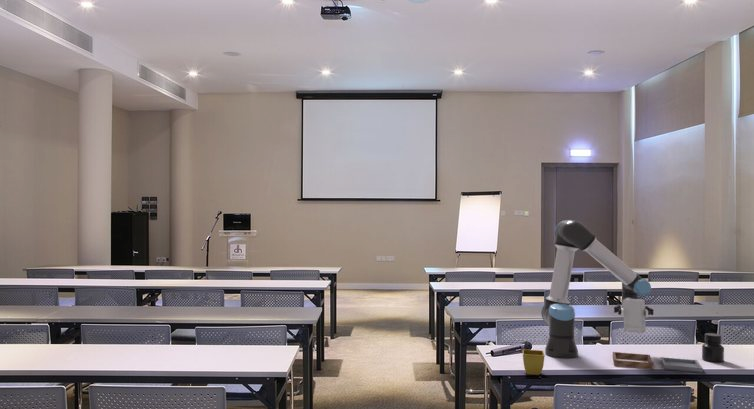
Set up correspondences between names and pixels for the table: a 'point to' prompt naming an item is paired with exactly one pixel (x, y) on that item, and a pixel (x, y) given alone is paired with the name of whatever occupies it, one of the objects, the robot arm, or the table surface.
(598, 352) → the table surface
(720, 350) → the ink bottle
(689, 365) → the tray
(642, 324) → the skincare box
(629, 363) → the wooden tray
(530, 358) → the flower pot
